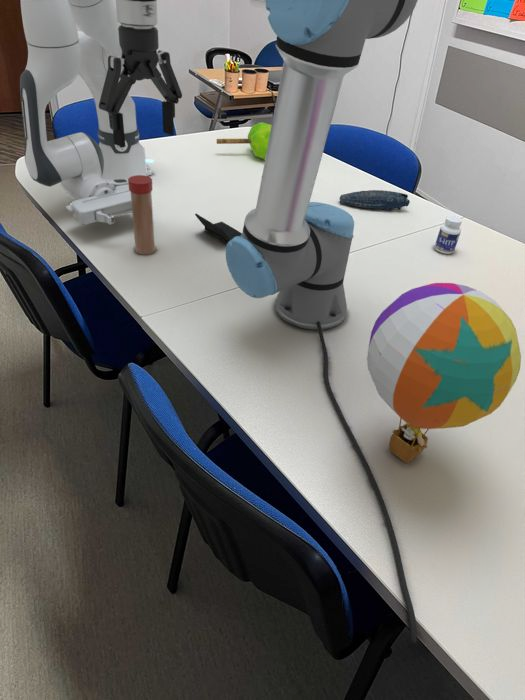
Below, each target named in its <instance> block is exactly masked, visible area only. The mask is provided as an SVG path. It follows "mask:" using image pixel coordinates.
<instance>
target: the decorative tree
mask: <svg viewBox="0 0 525 700" xmlns="http://www.w3.org/2000/svg"><path fill="white" fill-rule="evenodd" d="M271 126H272V124H269V123H266V122H264V121H263V122H262V121H261V122H258V123H256V124H253V125H252V126H251V127H250V129H249V132H248V134H247V138H216V144H217V145H229V144H230V145H232V144H233V145H234V144H239V145H241V144H243V145H244V144H249V146H250V148H251V150H252V152H253V154H254V156H255V157H257V158H260V159H262V160H264V161H265V158H266V152H267V147H268V142H269V137H270V131H271Z"/></svg>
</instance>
